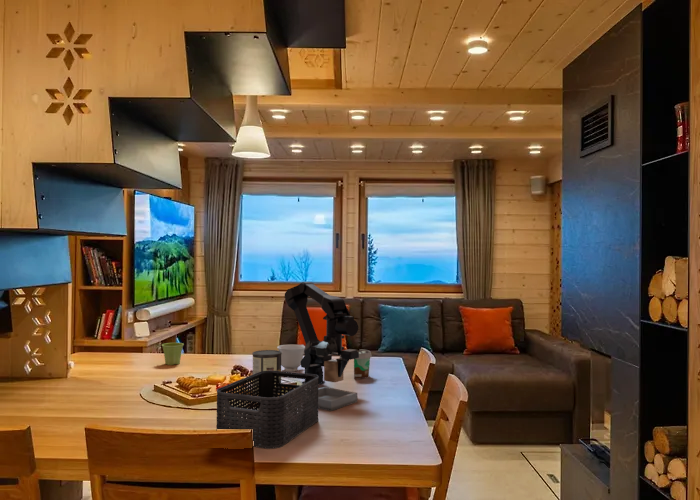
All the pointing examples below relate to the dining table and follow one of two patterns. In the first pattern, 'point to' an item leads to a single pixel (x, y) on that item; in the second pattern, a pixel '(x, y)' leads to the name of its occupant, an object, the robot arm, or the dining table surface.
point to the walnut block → (331, 371)
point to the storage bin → (269, 407)
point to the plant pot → (172, 353)
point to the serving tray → (335, 398)
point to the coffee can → (266, 361)
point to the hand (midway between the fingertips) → (333, 376)
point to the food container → (362, 364)
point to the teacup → (291, 356)
